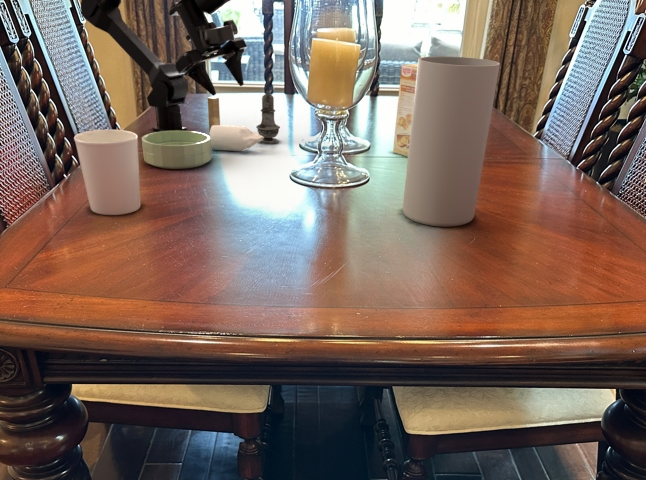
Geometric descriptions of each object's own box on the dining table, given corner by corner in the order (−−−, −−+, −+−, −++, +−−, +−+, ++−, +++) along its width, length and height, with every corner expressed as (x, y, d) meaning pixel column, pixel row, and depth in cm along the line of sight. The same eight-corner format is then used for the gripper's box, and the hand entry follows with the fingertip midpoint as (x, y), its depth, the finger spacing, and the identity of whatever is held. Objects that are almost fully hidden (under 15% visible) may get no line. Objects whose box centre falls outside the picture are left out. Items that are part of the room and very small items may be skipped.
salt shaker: (281, 139, 153) (281, 88, 147) (278, 145, 148) (278, 92, 142) (258, 138, 154) (257, 87, 148) (254, 143, 149) (253, 91, 143)
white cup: (156, 203, 108) (149, 133, 102) (123, 220, 100) (113, 145, 94) (109, 195, 110) (99, 127, 104) (73, 212, 102) (60, 138, 96)
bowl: (130, 160, 131) (127, 136, 129) (183, 150, 141) (181, 127, 138) (172, 174, 124) (170, 149, 121) (224, 161, 133) (223, 138, 131)
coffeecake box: (413, 159, 141) (424, 67, 132) (391, 152, 146) (399, 64, 136) (454, 150, 150) (466, 64, 140) (431, 144, 155) (442, 60, 145)
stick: (209, 134, 155) (207, 97, 151) (215, 133, 157) (213, 96, 152) (214, 136, 154) (212, 98, 150) (220, 135, 155) (218, 97, 151)
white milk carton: (261, 155, 139) (260, 130, 136) (209, 152, 140) (208, 127, 137) (266, 149, 144) (266, 125, 141) (216, 146, 145) (215, 121, 142)
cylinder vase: (429, 232, 100) (451, 67, 87) (388, 209, 109) (402, 57, 97) (488, 222, 105) (517, 65, 92) (444, 201, 115) (464, 55, 102)
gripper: (183, 14, 130) (218, 85, 134) (244, 1, 142) (274, 66, 146) (160, 39, 139) (193, 105, 143) (219, 24, 150) (248, 86, 154)
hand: (228, 90), depth 146 cm, fingers open, 9 cm apart
